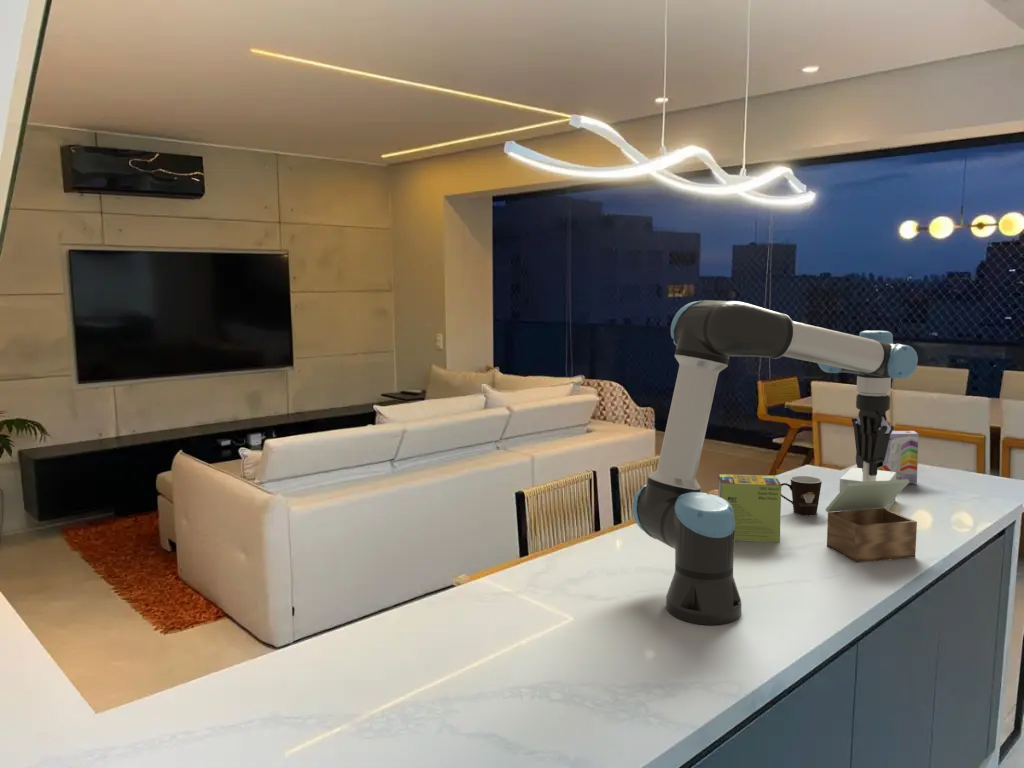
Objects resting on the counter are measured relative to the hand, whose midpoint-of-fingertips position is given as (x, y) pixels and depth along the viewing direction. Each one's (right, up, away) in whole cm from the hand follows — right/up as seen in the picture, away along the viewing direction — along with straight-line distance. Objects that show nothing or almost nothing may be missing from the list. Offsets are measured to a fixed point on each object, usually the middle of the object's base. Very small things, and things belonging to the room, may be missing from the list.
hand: (868, 487), depth 186 cm
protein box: (-25, -15, +15) cm, 33 cm away
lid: (0, -3, +1) cm, 3 cm away
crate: (+1, -16, +1) cm, 16 cm away
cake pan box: (+37, -8, +67) cm, 77 cm away
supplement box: (+20, -11, +42) cm, 48 cm away
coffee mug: (-4, -12, +35) cm, 38 cm away
